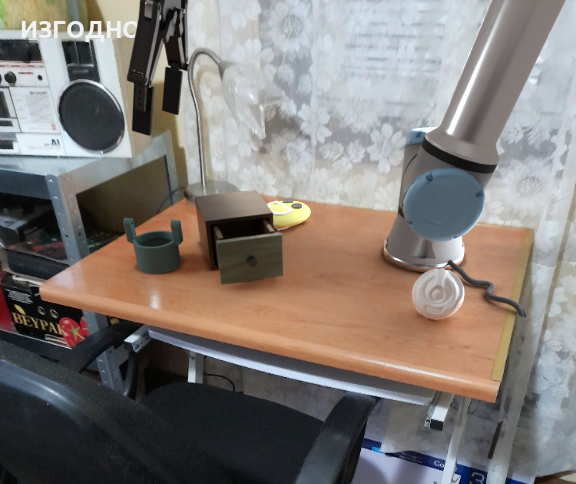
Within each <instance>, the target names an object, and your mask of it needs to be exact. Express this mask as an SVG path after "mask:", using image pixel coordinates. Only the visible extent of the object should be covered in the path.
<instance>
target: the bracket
mask: <svg viewBox="0 0 576 484" xmlns="http://www.w3.org/2000/svg"><path fill="white" fill-rule="evenodd" d="M122 224H123V227H124V232H125V233H124V234H125V237H126V241H127V242H128V243H130V244H132V245H133V251H134V253H135V260H136V264H137V268H138V270H139V271H140V272H142V273H145V274H151V275H153V274H154V275H158V274H165V273H169V272H172V271H174V270H176V269H178V268H179V266H180V265H181V264H182V259H181V252H180V247H179V246H180V245H181V244H182V243H183V241H184V235H183V229H182V222H181V220H179V219H171V220H170V223H169V224H170V231H169V230H153V231H152V230H151V231H146V232H143V233H140V234H137V231H136V227H135V223H134V218H133V217H124V218H123V220H122Z"/></svg>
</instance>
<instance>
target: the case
mask: <svg viewBox="0 0 576 484" xmlns="http://www.w3.org/2000/svg"><path fill="white" fill-rule="evenodd" d="M267 204H268V203H266V202H265V200H264V199H263V197H262V196H261V194H260V193H259V191H257V189H250V190H242V191H233V192H232V191H231V192H223V193H214V194H206V195H197V196H194V205H195V212H196V213H195V214H196V219H197V221H196V222H197V229H198V234H199V236H198V237H199V243H200V246H201V248H202V251H203V253H204V256H205V258H206V260H207V263H208V267H209V268H210V271H214V270H219V266H218V264H217V262H216V259H215V257H214V254H213V246H212V237H211V228H210V225H212V224H221V223H229V222H237V221H245V220H253V219H261V218H266V220H267V221H268V223H269V224H270V226H271V227H272V228H273V230H274V231H275V228H274V225H273V212H272V211H271V209H270V208H269V207H268V205H267Z"/></svg>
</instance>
